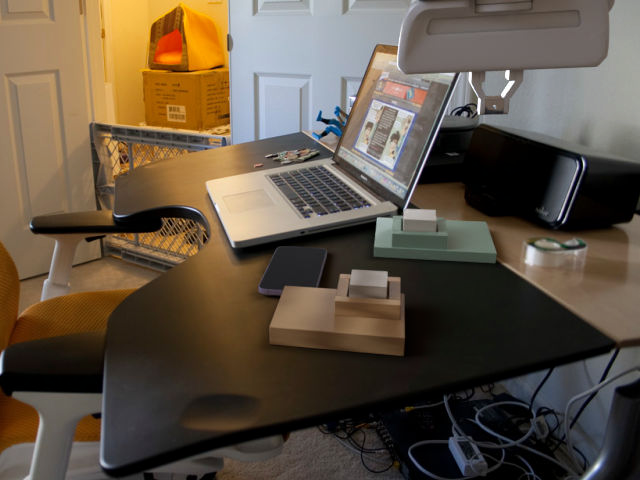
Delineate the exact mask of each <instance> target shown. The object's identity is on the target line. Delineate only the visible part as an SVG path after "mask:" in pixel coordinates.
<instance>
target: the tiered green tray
mask: <svg viewBox="0 0 640 480" xmlns="http://www.w3.org/2000/svg"><path fill="white" fill-rule="evenodd" d="M436 217H437V228H436V232H415V231H403V215H392V217H376V225H375V234H374V235H375V236H374V244H373V257H374V258H389V259H391V258H392V259H405V260H407V259H410V260H426V261H428V260H429V261H443V262H444V261H446V262H461V263H462V262H464V263H481V264H482V263H483V264H497V256H498V253H497V249H496V246H495V244H494V241H493V240H494V239H493V238H492V235H491V231H490V229H489V226H488V223H487V221H479V220H478V221H476V220H474V221H473V220H453V219H451V220H449V219H446V218H445V216H444V217H443V216H441V217H440V216H436Z"/></svg>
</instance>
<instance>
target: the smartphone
mask: <svg viewBox="0 0 640 480" xmlns="http://www.w3.org/2000/svg"><path fill="white" fill-rule="evenodd" d="M327 257H328V250H327V249H326V248H322V247H306V246H287V245H285V246H284V245H283V246H278V247H277V248H276V249H275V251H274V253H273V255H272V256H271V259H270V261H269V263H268V265H267V267H266V269H265V272H264V273H263V276H262V277H261V280H260V281H259V284H258V293H260V294H261V295H265V296H280V297H281V295H282V292H283V289H284V287H285V286H296V287H311V288H319V287H320V283H321V280H322V275H323V272H324V268H325V264H326V261H327Z"/></svg>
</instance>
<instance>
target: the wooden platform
mask: <svg viewBox="0 0 640 480" xmlns="http://www.w3.org/2000/svg"><path fill="white" fill-rule="evenodd" d="M350 279H351V274H349V273H340V274H339V277H338V282H337V288H325V287H318V288H311V287H296V286H285V287H284V289H283V292H282V295H281V296H280V298H279V300H278V303H277V305H276V308H275V310H274V313H273V316H272V319H271V322H270V324H269V327H268V328H269V329H268V331H269V345H271V346H272V345H273V346H285V347H294V348H295V347H296V348H307V349H319V350H329V351H340V352H341V351H342V352H351V353H352V352H353V353H363V354H374V355H375V354H377V355H387V356H399V357H404V356H405V341H406V311H405V309H406V307H405V306H406V305H405V302H406V301H405V300H406V299H405V298H406V297H405V296H406V295H405V293H403V292H402V293H401V277H399V276H388V280H387V299H374V298H359V297H349V285H350Z"/></svg>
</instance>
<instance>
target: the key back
mask: <svg viewBox="0 0 640 480" xmlns="http://www.w3.org/2000/svg"><path fill="white" fill-rule="evenodd" d="M402 213H403V214H402V216H403V231H415V232H436V228H437V217H438V216H437V210H436V209H423V208H421V209H420V208H419V209H418V208H403V212H402Z"/></svg>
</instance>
